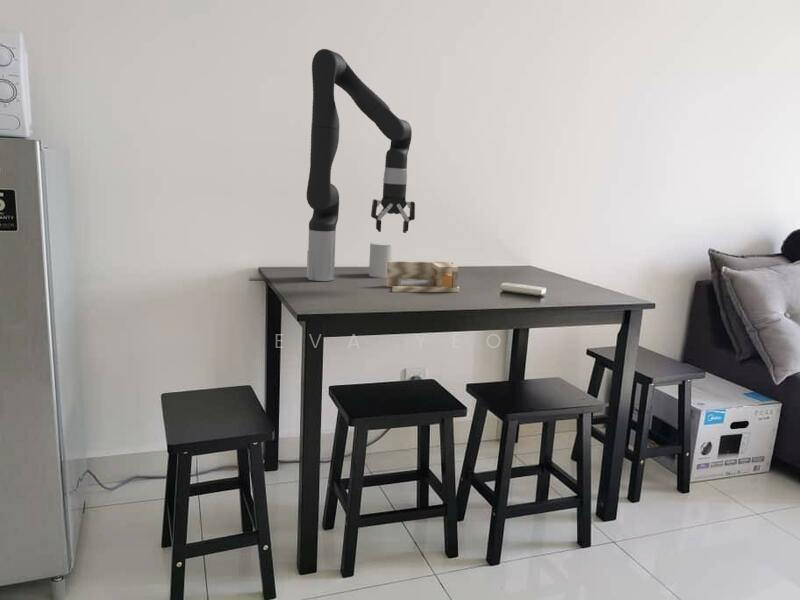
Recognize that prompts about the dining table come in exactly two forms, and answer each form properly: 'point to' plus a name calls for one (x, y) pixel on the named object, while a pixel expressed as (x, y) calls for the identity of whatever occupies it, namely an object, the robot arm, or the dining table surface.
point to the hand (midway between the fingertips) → (391, 232)
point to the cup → (379, 259)
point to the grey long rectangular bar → (416, 282)
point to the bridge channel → (421, 275)
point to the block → (444, 280)
